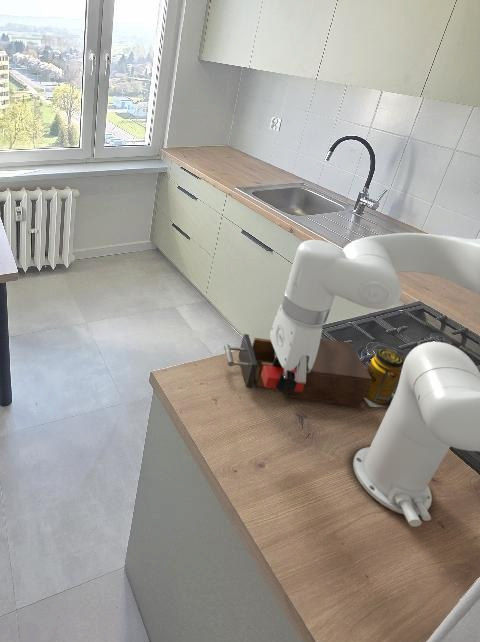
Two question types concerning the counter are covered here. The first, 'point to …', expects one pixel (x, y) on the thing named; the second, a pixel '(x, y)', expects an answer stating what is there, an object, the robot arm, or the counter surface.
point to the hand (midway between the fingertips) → (281, 382)
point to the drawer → (252, 358)
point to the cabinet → (335, 376)
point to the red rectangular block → (275, 377)
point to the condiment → (383, 378)
